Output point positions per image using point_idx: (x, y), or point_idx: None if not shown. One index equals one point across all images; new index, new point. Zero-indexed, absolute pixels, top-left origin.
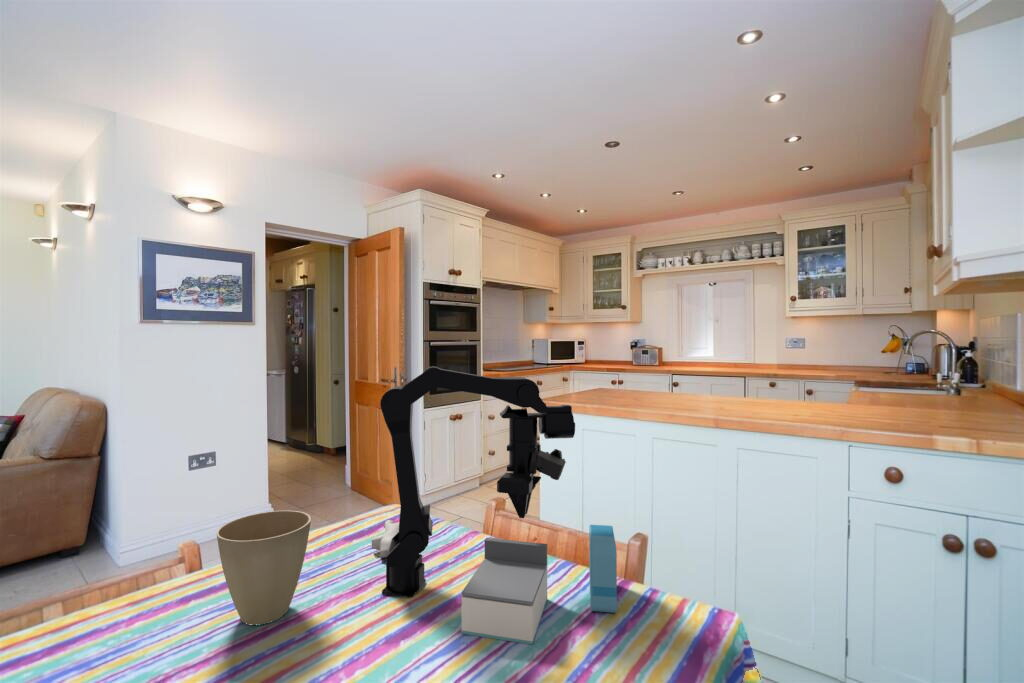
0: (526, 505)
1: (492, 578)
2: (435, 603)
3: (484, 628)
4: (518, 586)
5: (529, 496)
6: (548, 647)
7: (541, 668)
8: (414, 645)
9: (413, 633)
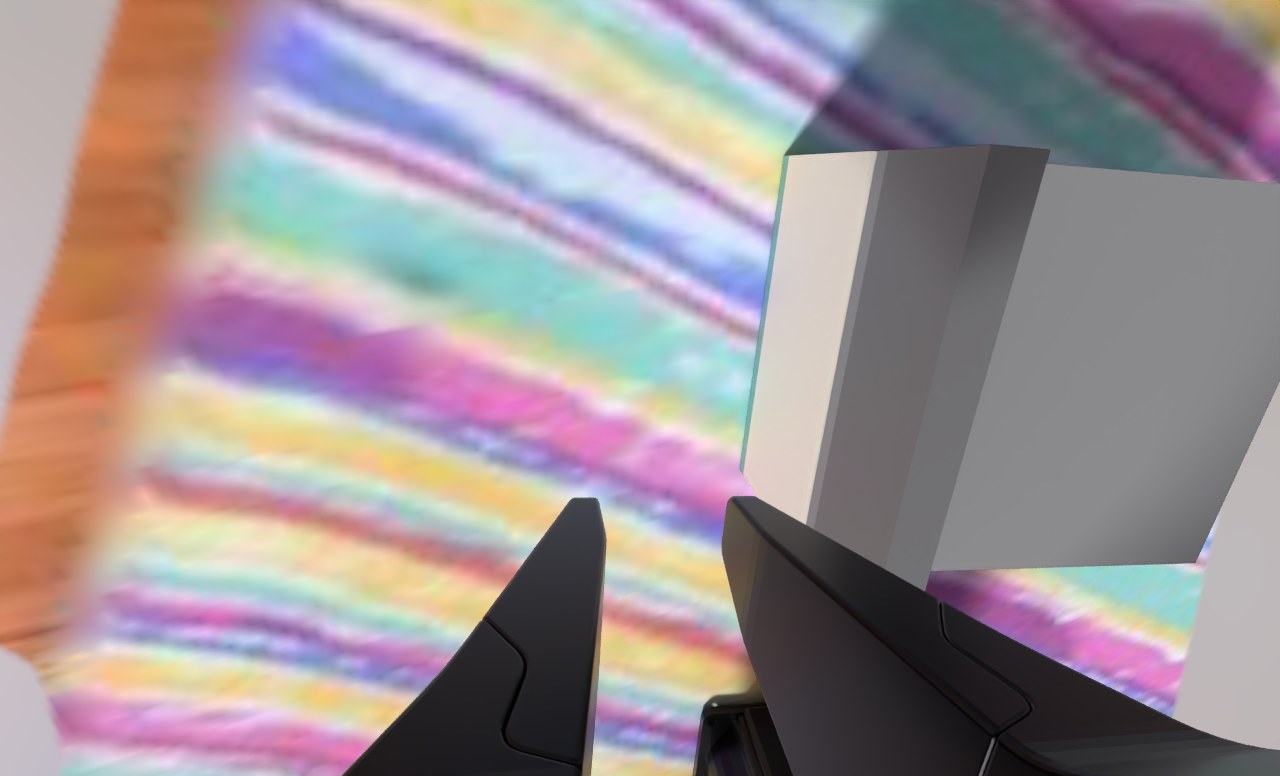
0: (847, 576)
1: (1083, 466)
2: None
3: None
4: (1193, 304)
5: (594, 650)
6: (1161, 109)
7: (1274, 126)
8: (1087, 579)
9: (1027, 607)
